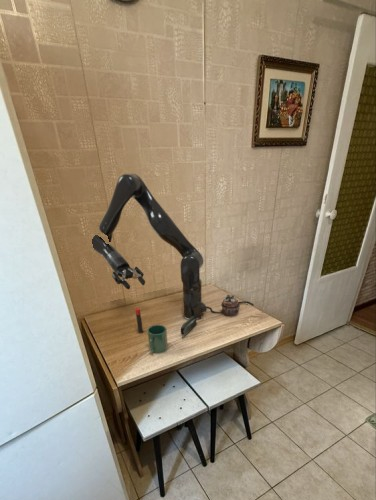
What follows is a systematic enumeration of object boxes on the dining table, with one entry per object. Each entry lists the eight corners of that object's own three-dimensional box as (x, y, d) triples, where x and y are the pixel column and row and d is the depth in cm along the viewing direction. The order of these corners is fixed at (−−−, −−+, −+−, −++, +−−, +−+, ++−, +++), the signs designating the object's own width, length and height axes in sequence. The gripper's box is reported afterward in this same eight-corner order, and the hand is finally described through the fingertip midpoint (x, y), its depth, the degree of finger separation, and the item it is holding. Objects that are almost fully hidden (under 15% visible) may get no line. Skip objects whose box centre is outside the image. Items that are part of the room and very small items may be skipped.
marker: (143, 330, 136) (140, 307, 129) (142, 333, 134) (139, 310, 127) (138, 330, 136) (135, 308, 129) (138, 333, 134) (134, 310, 127)
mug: (154, 341, 128) (152, 323, 123) (170, 344, 126) (169, 326, 120) (143, 354, 119) (140, 336, 114) (160, 358, 117) (158, 340, 112)
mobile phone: (192, 314, 139) (178, 328, 127) (197, 315, 138) (184, 329, 126) (192, 322, 141) (178, 337, 130) (197, 324, 140) (184, 338, 129)
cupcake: (239, 318, 144) (240, 300, 139) (220, 316, 146) (221, 299, 140) (239, 309, 152) (240, 292, 146) (221, 308, 153) (222, 291, 148)
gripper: (105, 259, 126) (125, 283, 122) (131, 254, 136) (151, 276, 131) (103, 271, 132) (122, 295, 127) (128, 266, 141) (146, 288, 136)
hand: (136, 285), depth 129 cm, fingers open, 8 cm apart
